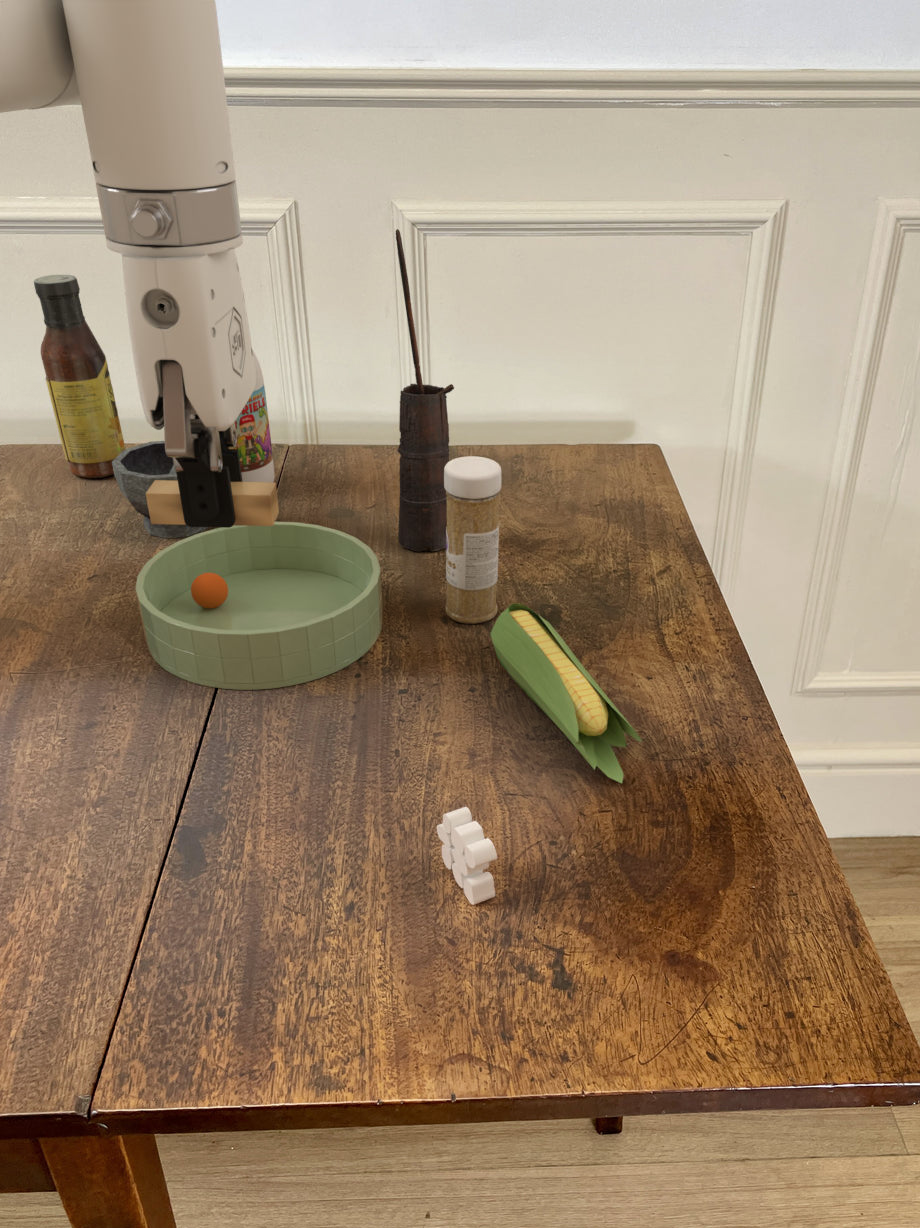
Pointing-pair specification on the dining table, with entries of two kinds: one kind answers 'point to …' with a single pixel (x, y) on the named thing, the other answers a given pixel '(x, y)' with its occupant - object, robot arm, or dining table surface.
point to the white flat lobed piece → (467, 854)
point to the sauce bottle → (78, 381)
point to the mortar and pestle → (148, 483)
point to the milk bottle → (255, 435)
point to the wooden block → (249, 498)
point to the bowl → (262, 605)
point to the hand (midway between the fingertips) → (215, 513)
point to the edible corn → (561, 686)
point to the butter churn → (421, 450)
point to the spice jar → (472, 538)
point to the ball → (209, 590)
